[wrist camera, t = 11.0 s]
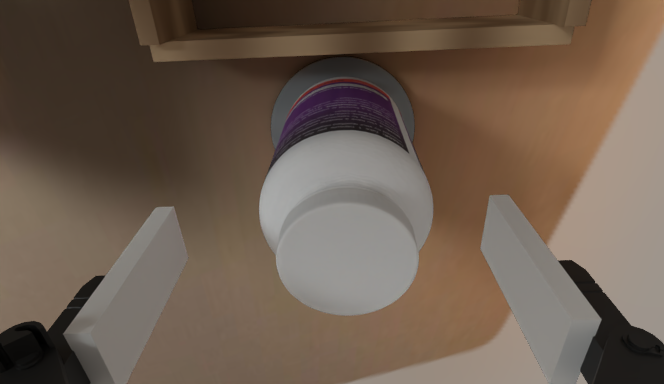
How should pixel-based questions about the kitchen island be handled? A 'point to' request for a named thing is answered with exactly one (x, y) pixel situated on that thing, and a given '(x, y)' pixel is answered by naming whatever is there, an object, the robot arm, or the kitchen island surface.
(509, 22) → the wooden box
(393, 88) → the grey oval disc
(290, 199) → the pill bottle
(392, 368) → the kitchen island surface
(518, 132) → the kitchen island surface
